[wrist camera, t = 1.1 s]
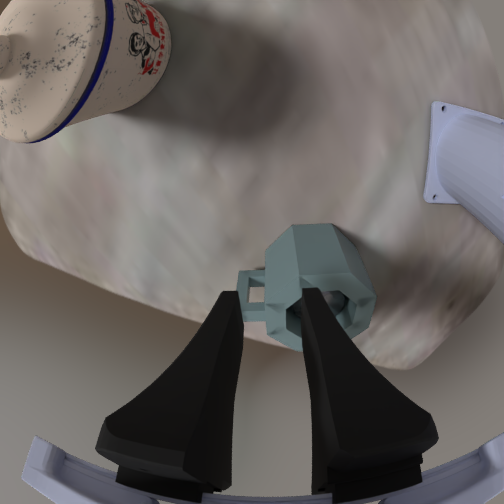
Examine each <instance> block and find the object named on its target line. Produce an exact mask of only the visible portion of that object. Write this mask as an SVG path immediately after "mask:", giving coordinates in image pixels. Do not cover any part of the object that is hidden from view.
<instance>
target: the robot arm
mask: <svg viewBox="0 0 504 504" xmlns="http://www.w3.org/2000/svg"><path fill="white" fill-rule="evenodd" d="M442 106H443V107H444V111H442ZM501 124H502V125H501ZM435 194H436V196H435V198H433V196H434V195H435ZM423 198H424V200H425V201H426V202H427V203H448V204H461V205H462V206H463V207H464V208H466V209H467V210H468V211H469V212H470V213H471V214H472V215H474V216H475V217H476V218H477V219H478V220H479V221H480V222H481V223H482V224H483V225H485V226H486V227H487V228H488V229H489V230H490V231H491V232H492V233H493V234H494V235H495V236H496V237H497V238H498V239H499V240H500V241H501V242H502V243H503V244H504V120H503V119H500V118H497V117H494V116H491V115H488V114H485V113H482V112H478V111H475V110H471V109H468V108H464V107H460V106H456V105H452V104H448V103H444V102H439V101H434V102H433V103H432V106H431V130H430V145H429V156H428V166H427V174H426V182H425V189H424V195H423ZM243 336H244V323H243V317H242V311H241V305H240V299H239V293H238V291H223V292H222V293H221V294H220V295H219V297H218V299H217V301H216V303H215V305H214V306H213V308H212V310H211V311H210V313H209V315H208V316H207V318H206V319H205V321H204V322H203V324H202V325H201V327H200V328H199V330H198V331H197V333H196V334H195V336H194V337H193V338H192V340H191V341H190V342H189V344H188V345H187V346H186V348H185V349H184V350H183V352H182V353H181V354H180V355H179V356H178V357H177V358H176V360H175V361H174V362H173V363H172V364H171V365H170V366H169V367H168V368H167V369H166V370H165V371H164V372H163V374H161V375H160V376H159V377H158V378H157V379H156V380H155V381H154V382H153V383H152V384H151V385H150V386H148V387H147V388H146V389H145V390H144V391H142V392H141V393H140V394H139V395H138V396H136V397H135V398H134V399H133V400H131V401H130V402H129V403H127V404H126V405H124V406H123V407H121V408H120V409H118V410H117V411H115V412H114V413H112V414H111V415H109V416H108V417H106V418H105V420H104V423H103V425H102V428H101V431H100V434H99V437H98V441H97V444H96V447H95V449H96V451H97V452H98V453H99V454H100V455H102V456H103V457H105V458H107V459H109V460H111V461H112V462H114V463H116V464H118V465H119V468H118V472H117V473H116V472H113V471H110V470H107V469H104V468H102V467H99V466H97V465H94V464H91V463H89V462H86V461H84V460H81V459H79V458H77V457H74V456H72V455H70V454H68V453H66V452H65V451H64V450H62V449H60V448H59V447H57V446H55V445H53V444H52V443H50V442H48V441H46V440H44V439H42V438H40V437H38V436H35V437H34V439H33V442H32V445H31V448H30V451H29V454H28V457H27V460H26V463H25V467H24V470H23V473H22V477H21V478H22V480H23V481H25V482H26V483H28V484H29V485H30V486H32V487H33V488H35V489H36V490H37V491H39V492H40V493H42V494H43V495H45V496H46V497H47V498H49V499H50V500H52V501H53V502H55V503H56V504H159V502H158V501H157V500H156V499H158V500H162V501H166V502H171V503H175V504H364V503H369V502H373V501H378V500H381V501H380V502H379V503H378V504H485V503H486V502H488V501H489V500H490V499H492V498H493V497H495V496H496V495H498V494H499V493H500V492H502V491H503V490H504V432H503V433H502V434H500V435H498V436H496V437H495V438H493V439H491V440H490V441H488V442H486V443H485V444H483V445H482V446H480V447H479V448H478V449H476V450H474V451H472V452H470V453H468V454H466V455H464V456H461V457H459V458H457V459H455V460H452V461H450V462H447V463H445V464H442V465H440V466H437V467H435V468H432V469H429V470H427V471H424V472H421V469H420V464H422V463H423V458H422V453H424V452H425V451H426V450H428V449H429V448H431V447H432V446H433V445H435V444H436V443H437V441H438V439H439V437H438V433H437V430H436V426H435V423H434V421H433V419H432V416H431V414H430V413H428V412H427V411H425V410H424V409H422V408H421V407H419V406H418V405H416V404H415V403H414V402H413V401H411V400H410V399H409V398H408V397H406V396H405V395H404V394H403V393H401V392H400V391H399V390H398V389H397V388H396V387H394V386H393V385H392V384H391V383H390V382H389V381H388V380H387V379H386V378H385V377H383V375H382V374H380V373H379V372H378V370H376V369H375V367H374V366H373V365H372V364H371V363H370V362H369V361H368V360H367V359H366V357H365V356H364V355H363V354H362V353H361V352H360V350H359V349H358V348H357V347H356V345H355V344H354V343H353V342H352V340H351V339H350V338H349V336H348V335H347V333H346V332H345V331H344V329H343V328H342V326H341V325H340V323H339V322H338V320H337V319H336V317H335V316H334V314H333V312H332V311H331V309H330V307H329V306H328V304H327V302H326V300H325V298H324V297H323V295H322V293H321V290H320V289H319V288H318V287H313V288H302V303H301V336H302V348H303V354H304V360H305V366H306V372H307V378H308V384H309V390H310V399H311V417H312V486H311V488H312V495H307V496H294V497H293V496H291V497H248V496H247V497H246V496H231V495H220V494H213V492H214V491H215V492H222V490H226V489H227V488H229V487H230V486H231V485H232V473H231V472H232V433H233V413H234V400H235V393H236V387H237V381H238V374H239V369H240V362H241V357H242V350H243ZM382 499H383V500H382Z"/></svg>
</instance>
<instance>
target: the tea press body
mask: <svg viewBox="0 0 504 504" xmlns="http://www.w3.org/2000/svg"><path fill="white" fill-rule="evenodd" d="M264 286H265V297H264V302H256V303H249V293H250V287H264ZM313 287H318V288H319V289H320V290H321V291H336V290H340V291H341V292H342V293H343V296H344V306H343V308H342V310H341V311H340V312H339V313H338V314H337V315H336V316H335V317H336V319H337V320H338V322H339V323H340V325H341V326H342V328H343V329H344V331H345V332H346V333H347V335H348V336H349V338H350V339H352V338H354V337H355V336H357V335H358V334H360V333H361V332H363V331H364V330H366V329H367V328H369V324H370V321H371V317H372V314H373V310H374V307H375V303H376V299H377V295H376V293H375V290H374V288H373V285H372V283H371V281H370V278H369V276H368V274H367V271H366V269H365V267H364V264H363V262H362V260H361V258H360V256H359V253H358V251H357V249H356V247H355V245H354V244H352V243H351V242H350V241H349V240H348V239H347V238H346V237H345V236H344V235H343V234H342V233H341V232H340V231H339V230H338V229H337V228H336V227H335V226H333V225H332V224H307V225H292V226H291V227H290V228H289V229H288V230H286V231H285V232H284V233H283V234H282V235H281V236H280V237H279V238H278V239H277V240H276V241H275V242H274V243H273V244H272V245H271V246H270V247H269V248H268V249H266V252H265V270H247V271H239V275H238V282H237V289H236V291H238V293H239V299H240V305H241V311H242V317H243V322H247V321H266V328H267V335H268V336H270V337H272V338H274V339H275V340H277V341H279V342H281V343H283V344H284V345H286V346H288V347H290V348H292V349H294V350H296V351H303V348H302V336H301V319H300V318H298V317H297V316H296V315H295V313H294V311H293V305H292V304H293V303H295V302H296V301H297V300H299V299H300V298H301V297H302V288H313Z"/></svg>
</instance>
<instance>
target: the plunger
mask: <svg viewBox="0 0 504 504" xmlns="http://www.w3.org/2000/svg"><path fill="white" fill-rule="evenodd" d="M321 293H322V295H323V297H324V298H325V300H326V302H327V304H328V306H329V307H330V309H331V311H332V312H333V314H334V316H336V315H337V314H338V313H339V312H340V311H341V310H342V308H343V306H344V296H343V293H342V292H341V291H340V290H336V291H321ZM301 303H302V297H301V298H300V299H299V300H297V301H296V302H295V303H293V304H292V305H293V311H294V313H295V315H296V316H297V317H298V318H300V319H301Z"/></svg>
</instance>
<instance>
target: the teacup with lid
mask: <svg viewBox="0 0 504 504" xmlns="http://www.w3.org/2000/svg"><path fill="white" fill-rule="evenodd" d="M170 52H171V34H170V30H169V27H168V24H167V22H166V20H165V19H164V17H163V16H162V15H161V14H160V13H159V12H158V11H157V10H156V9H155V8H153V7H151V6H150V5H148V4H146V3H144V2H142V1H141V0H12V1H11V2H10V3H9V5H8V6H7V7H6V9H5V10H4V11H3V13H2V14H1V16H0V135H1V136H2V137H4V138H6V139H8V140H10V141H13V142H17V143H36V142H40V141H43V140H46V139H48V138H50V137H51V136H53V135H55V134H56V133H58V132H59V131H60V130H62V129H63V128H64V127H67V126H69V125H72V124H75V123H78V122H81V121H84V120H88V119H91V118H94V117H98V116H101V115H105V114H108V113H112V112H116V111H120V110H123V109H126V108H128V107H130V106H132V105H134V104H135V103H137V102H139V101H140V100H141V99H143V98H144V97H145V96H146V95H147V94H148V93H149V92H150V91H151V90H152V89H153V88H154V87H155V85H156V84H157V83H158V81H159V80H160V78H161V77H162V75H163V73H164V71H165V69H166V67H167V64H168V61H169V57H170Z"/></svg>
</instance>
